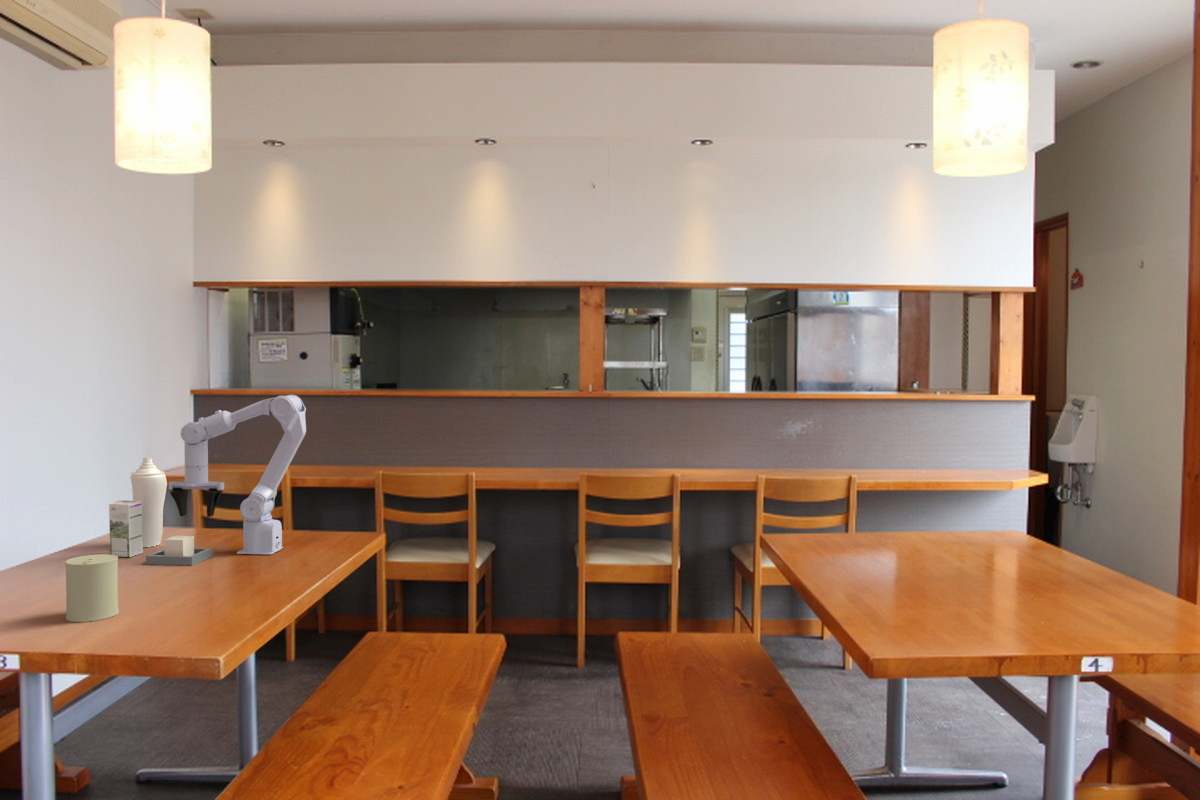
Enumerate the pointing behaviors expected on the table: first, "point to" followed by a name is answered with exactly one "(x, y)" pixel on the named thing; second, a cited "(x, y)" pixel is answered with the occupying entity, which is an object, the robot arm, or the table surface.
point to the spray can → (150, 500)
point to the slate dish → (179, 557)
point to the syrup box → (125, 528)
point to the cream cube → (179, 546)
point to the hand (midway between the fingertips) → (196, 515)
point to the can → (91, 587)
